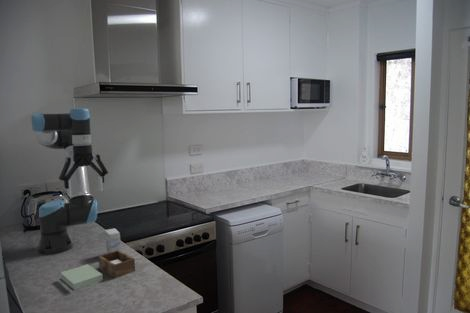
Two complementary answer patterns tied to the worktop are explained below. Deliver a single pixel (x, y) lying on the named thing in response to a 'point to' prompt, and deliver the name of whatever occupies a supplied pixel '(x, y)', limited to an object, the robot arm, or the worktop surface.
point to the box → (120, 268)
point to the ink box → (112, 240)
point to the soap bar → (116, 261)
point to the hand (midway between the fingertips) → (85, 193)
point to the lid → (81, 276)
